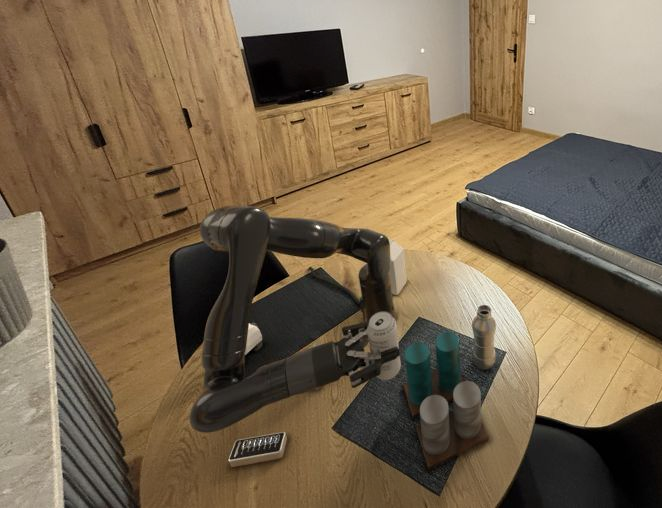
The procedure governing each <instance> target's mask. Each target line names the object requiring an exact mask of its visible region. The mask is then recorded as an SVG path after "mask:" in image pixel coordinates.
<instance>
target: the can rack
mask: <svg viewBox="0 0 662 508" xmlns="http://www.w3.org/2000/svg"><path fill="white" fill-rule="evenodd" d="M435 356H436V357H435V358H436V370H434V371H432V368H431V356H430V348H429V347H428V345H427V344H426V343H423V342H413V343H411V344H410V345H409V346H407V348H406V349H405V351H404V361H405V369H406V379H407V382H405V383H403V384H402V386H403V390H404V394H405V396H406V400H407V404H408V407H409V411H410V414H411V417H412V419H416V418H417V417H420V406H421V404H422V402H423V401H424V399H426V398H427V397H429V396H431V395H440V396H442V397H443V398H445V400H446V401H447V403H448V404H449V403H452V402H453V392H454V389H455V387H456V386H457V385H458V384H459V383H461V382H464V379H463V377H462V375H461V355H460V338H459V336H458V335H457V334H456V333H455V332H453V331H444V332H441V333H439V334H438V335H437V337H436V338H435Z"/></svg>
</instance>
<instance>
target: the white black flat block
mask: <svg viewBox="0 0 662 508" xmlns="http://www.w3.org/2000/svg"><path fill="white" fill-rule="evenodd" d="M287 441H288V438H287V435H286V432H285V431H281V432H280V431H279V432H274V433H269V434H263V435H258V436H251V437H245V438H240V439H236V440H235V441H234V443H233V446H232V449H231V452H230V454H229V457H228V460H227V461H228V463H229V465H230V467H231V468H236V467H241V466H246V465H252V464H257V463H263V462H270V461H274V460H279V459H281V458H283V456H284V452H285V448H286V445H287Z"/></svg>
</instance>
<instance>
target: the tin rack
mask: <svg viewBox="0 0 662 508" xmlns="http://www.w3.org/2000/svg"><path fill="white" fill-rule="evenodd" d="M452 403H453V410H452V411H449V410H450V408H449V403H447V401H446V400H445V398H443V397H442V396H440V395H431V396H429V397H427V398H426V399H424V401H423V402H422V404H421V406H420V416H419V420H420V425H419V426H417V427H416V433H417V434H416V435H417V437H418V440H419V443H420V446H421V450H422V453H423V456H424V460H425V463H426V466H427V470H428V471H430V470H432V469H434V468H436V467H438V466H440V465H442V464H444V463H446V462H448V461H450V460H452V459H454V458H455V457H457V456H459V455H462V454H463V453H465V452H467V451H469V450H472V449H473V448H475V447H477V446H479V445H481V444H483V443H485V442H487V441H489V440H490V436H489V434H488V431H487V428H486V427H485V424H484V423H483V421H482V417H481V416H482V392H481V389H480V387H479V386H478V385H477V384H476V383H475V382H473V381H470V380H463V382H461V383H459V384H458V385H457V386H456V387H455V389H454V392H453V401H452Z"/></svg>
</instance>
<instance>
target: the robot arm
mask: <svg viewBox="0 0 662 508" xmlns="http://www.w3.org/2000/svg"><path fill="white" fill-rule="evenodd" d="M199 235H200V237H201V239H202V241H203V242H204V243H205V245H206V246H207V247H209V248H211V249H212V250H214V251H217V252H221V253H228V256H229V257H228V258H229V261H228V262H229V263H228V272H227V277H226V280H225V283H224V285H223V287H222V290H221V292H220V294H219V295H218V298H217V299H216V301H215V302H214V305H213V306H212V308H211V310H210V311H209V315H208V316H207V320H206V323H205V328H204V335H203V341H202V350H201V360H200V361H201V367H202V368H203V370H204V374H203V375H204V376H203V384H202V388H201V392H200V393H199V395H198V397H197V398H196V400H195V401H194V403H193V404H192V406H191V409H190V412H189V423H190V426H191V427H192V428H193V429H194V430H195V431H197V432H199V433H202V434H203V433H204V434H210V433H215V432H219V431H222V430H225V429H227V428H229V427H231V426H233V425H235V424H237V423H239V422H240V421H242V420H244V419H245V418H247V417H249V416H252V415H253V414H255V413H256V412H258V411H260V410H261V409H263V408H265V407H267V406H269V405H272V404H275V403H278V402H281V401H283V400H286V399H289V398H290V397H291V398H292V397H294V396H299V395H302V394H306V393H308V392H311V391H314V389H317V388H319V387H320V388H321V387H324V386H327V385H329V384H333V383H336V382H337V381H339V380H340V379H341V378H342V377H348V378H349V383H350V388H352V389H356V388H357V387H360V386H361V385H364V384H365V383H367V382H369V381H371V380H373V379H375V378H377V376H379V375H380V374H381V366H382V365H383V364H384V363H387V362H389V361H392V360H395V359H396V358H397V357H398V356H399V355H400V347H399V348H398V347H394V348H391V349H389V350H386V351H383V352H381V354H371V352H370V351H365V348H366V347H367V345H368V344H369V339H368V332H367V327H368V324H369V321H370V319H371V317H372V316H373V315H374V314H376V313H378V312H388V313H390V314H391V315H392V317H393V318H394V319H395V320H396V315H395V313H396V312H395V304H394V300H393V294H392V289H391V281H390V273H389V272H390V267H391V256H390V243H389V242H390V240H389V238H388V236H387V235H385V234H383V233H380V232H378V231H375V230H372V229H370V228H362V227H361V228H358V227H357V228H356V227H344V226H343V227H342V226H340V225H338V224H335V223H332V222H329V221H325V220H323V221H322V220H319V219H312V218H305V217H277V216H270V215H269V214H268V212H267V211H266V210H264V209H263V208H262V207H259V206H253V205H237V204H236V205H235V204H234V205H232V204H231V205H223V206H220V207H217V208H216V209H213V210H211V211H210V212H209V213H207V214H206V215H205V216H204V217H203V218H202V220H201V223H200V225H199ZM267 252H271V253H276V254H281V255H287V256H292V257H298V258H305V259H327V258H330V257H332V256H334V255H336V254H338V255H345V256H347V257H351V258H353V259H354V260H355V259H356V260H358V261H360V262H362V263H366V264H364V265H363V266H362V267H361V268H360V269H359V271H358V282H359V288H360V293H361V296H360V298H358V297H356V295H355V294H354V292H352V291H351V290H350V289H348V288H347V287H345V286H343V285H341V284H339V283H337V282H335V281H332V280H330V279H327V278H325V277H322V276H320V275H318V274H317V273H316V272H315V270H314V268H313V267H312V266H309V267H308V270H309V271H310V272H311V274H312V276H313V277H315V278H316V279H317V280H320V281H322V282H326V283H329V284H330V285H333V286H335V287H337V288H339V289H341V290H343V291H344V292H346V293H347V294H348V295H349V296H350V297H351V298H352V299H353V300H354V302H356V304H357V305H359V306H360V307H359V308H360V312H361V315H362V320H363V322H359V323H355V324H351V325H344V326H343V327H342V328H341V334H342V338H341V339H340V340H339V341H334V340H330V341H328V342H325V343H321V344H319V345H318V346H315V347H313V346H312V347H310V348H307V349H304V350H301V351H298V352H296V353H294V354H292V355H290V356H287V357H285V358H282V359H278V360H276V361H273V362H270V363H267V364H264V365H262V366H260V367H258V368H257V369H256V370H255V371H254V372H253V373H252V374H251V375H249V376H247V377H245V371H246V370H245V369H246V368H245V367H246V366H245V363H244V356H245V357H246V355H245V351H246V344H247V336H248V327H249V323H250V319H251V318H250V317H251V311H252V305H253V302H254V297H255V293H256V289H257V285H258V283H259V279H260V275H261V271H262V268H263V263H264V260H265V256H266V253H267ZM400 356H401V355H400ZM358 369H360V370H358ZM320 388H319V389H320Z"/></svg>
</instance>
